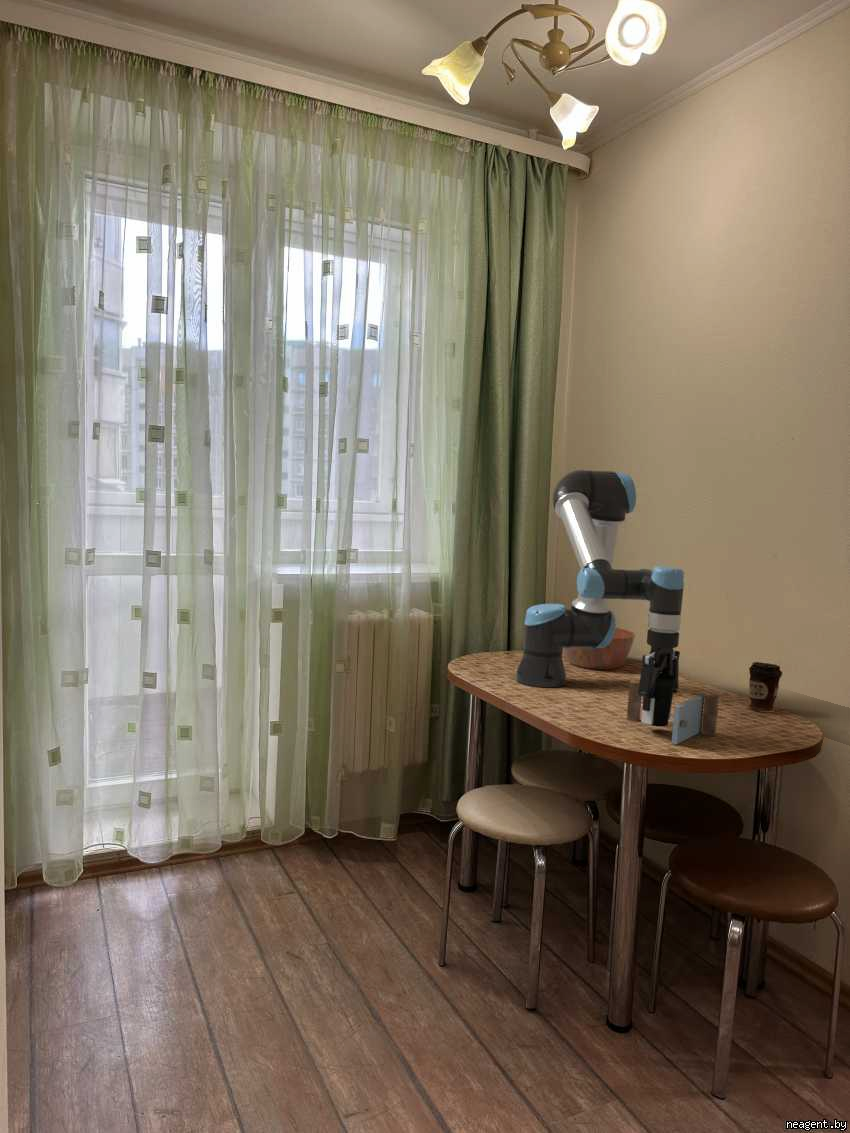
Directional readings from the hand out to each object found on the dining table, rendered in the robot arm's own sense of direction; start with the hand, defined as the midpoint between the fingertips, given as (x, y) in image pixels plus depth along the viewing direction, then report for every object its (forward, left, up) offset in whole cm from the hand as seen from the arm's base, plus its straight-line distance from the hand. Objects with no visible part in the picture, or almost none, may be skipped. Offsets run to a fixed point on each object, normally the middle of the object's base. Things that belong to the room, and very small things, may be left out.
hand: (655, 720), depth 213 cm
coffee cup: (+18, +41, -3) cm, 45 cm away
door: (+8, -1, -3) cm, 9 cm away
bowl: (-39, +64, -3) cm, 75 cm away
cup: (0, 0, -1) cm, 1 cm away
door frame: (+2, +6, -3) cm, 7 cm away
